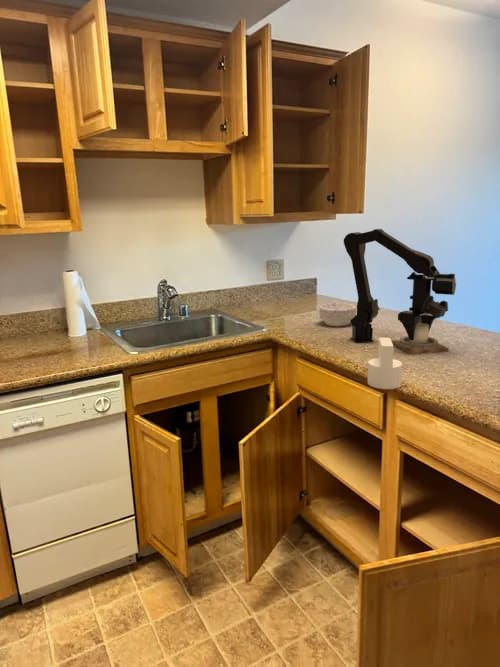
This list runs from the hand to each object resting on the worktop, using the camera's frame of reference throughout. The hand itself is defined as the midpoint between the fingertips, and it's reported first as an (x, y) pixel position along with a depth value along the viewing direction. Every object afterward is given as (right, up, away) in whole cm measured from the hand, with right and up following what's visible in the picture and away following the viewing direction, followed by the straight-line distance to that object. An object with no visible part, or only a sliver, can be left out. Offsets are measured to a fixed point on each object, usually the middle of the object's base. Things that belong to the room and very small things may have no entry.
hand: (418, 337), depth 164 cm
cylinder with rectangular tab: (-21, -13, -32) cm, 41 cm away
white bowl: (-21, +5, +39) cm, 44 cm away
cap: (0, -2, +1) cm, 2 cm away
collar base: (0, -3, +1) cm, 4 cm away
